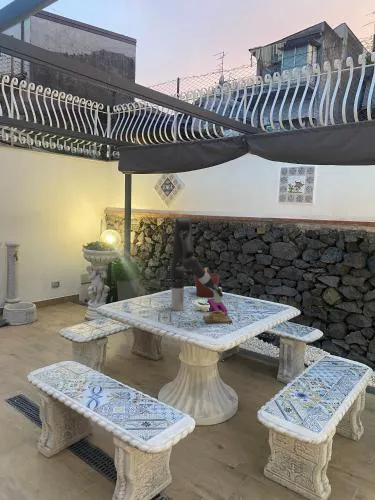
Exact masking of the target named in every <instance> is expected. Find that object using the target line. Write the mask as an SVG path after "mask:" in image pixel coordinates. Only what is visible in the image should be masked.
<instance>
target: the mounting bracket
mask: <svg viewBox="0 0 375 500" xmlns="http://www.w3.org/2000/svg"><path fill="white" fill-rule="evenodd" d="M207 303H209V304H210V308H209V311H208V312H209V313H210V312H213V311H221V312H223V313H225V315H228V314H227V313H228V309H227V307H226V306H225V304H224V303H223V302H219V303H216V302H214V297H211V298H207V301H206V304H207Z"/></svg>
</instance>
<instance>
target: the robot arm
mask: <svg viewBox="0 0 375 500" xmlns="http://www.w3.org/2000/svg"><path fill="white" fill-rule="evenodd" d="M192 229H193V227H192V220H191V218H190V217H176V218H175V220H174V237H173V245H172V254H171V255H172V257H171V265H170V269H169V277H170V278H171V279H174V280H175V279H177V281H175V282H172V283H171V310H172V311H176V312H177V311H179V312H180V311H184V301H185V299H184V298H185V297H184V296H185V294H184V293H185V292H184V291H185V270H186V271H190V270H192V269H193V271H192V274H193V276H194V275H195V276H196V277H197V278H198V279H199V281H200V282H201V283H202V284H203V285H204V286H205V287H206V288H209V289H210V290H211V291H213V292H216V293H217V294H219V296H220V297H222V298H223V295H224V294H223V292H222V293H221V290H220V289H219V287H220V286H219V285H218V286H216V285H215V284H213V282H214V280H213V279H212V278H211V276H210V275H209V274H208V273H207V272H205V270H204V268H203V267H202V265H201V263H200V262H199V259H198V257H196V256H194V254H195V251H194V245H193V230H192ZM182 231H183V232H184V231H185V232H186V234H185V235H186V236H185V238H184V240H183V238H182V235H181V234H180V232H182ZM181 260H182V266H177V265H178V263H179V262H180V261H181Z"/></svg>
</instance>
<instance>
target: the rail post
mask: <svg viewBox="0 0 375 500" xmlns="http://www.w3.org/2000/svg"><path fill="white" fill-rule="evenodd" d="M218 287H219V289H220V290H221V293H222V294H223V288H222V287H220V286H218ZM213 298H214V302H216V303H219V302H222V300H223V299H222V298H223V296H222V297H220V296H219V294H217V293H216V292H214V297H213ZM222 303H223V302H222Z"/></svg>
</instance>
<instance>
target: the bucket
mask: <svg viewBox="0 0 375 500" xmlns="http://www.w3.org/2000/svg"><path fill="white" fill-rule="evenodd" d="M203 269H204V270H205V272H207V273H208V274H209V275H210V276H211V278H212V279H213V280H214V282H213V284H215V285H216V286H218V287H219V282H220V277H221V276H220V275H219V274H217V273H212V272H210V269H209V267H204V268H203ZM193 276H194V277H193V278H194V283H195V291H196V296H197V297H198V298H204V299H212V298H214V292H213V291H211V290H210V289H209V288H206V287H205V286H204V285H203V284H202V283H201V282H200V281H199V279H198V278H197V277H196V276H195V275H194V274H193Z"/></svg>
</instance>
